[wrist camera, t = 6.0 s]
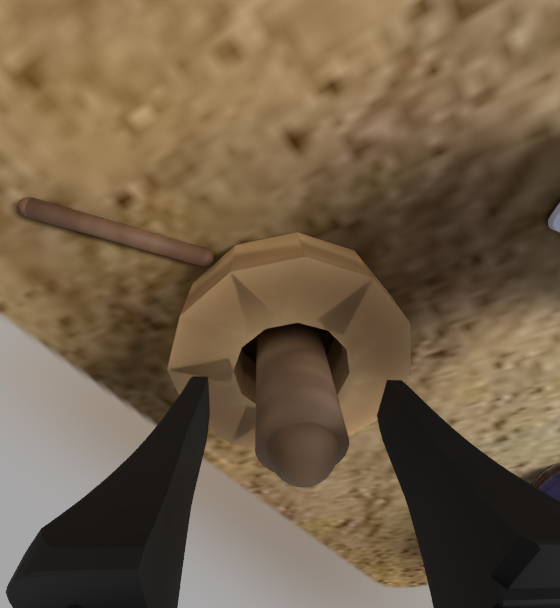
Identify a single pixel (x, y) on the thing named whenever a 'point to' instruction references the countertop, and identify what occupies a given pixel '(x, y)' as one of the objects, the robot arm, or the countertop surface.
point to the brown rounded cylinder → (297, 406)
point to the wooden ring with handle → (269, 316)
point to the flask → (549, 481)
